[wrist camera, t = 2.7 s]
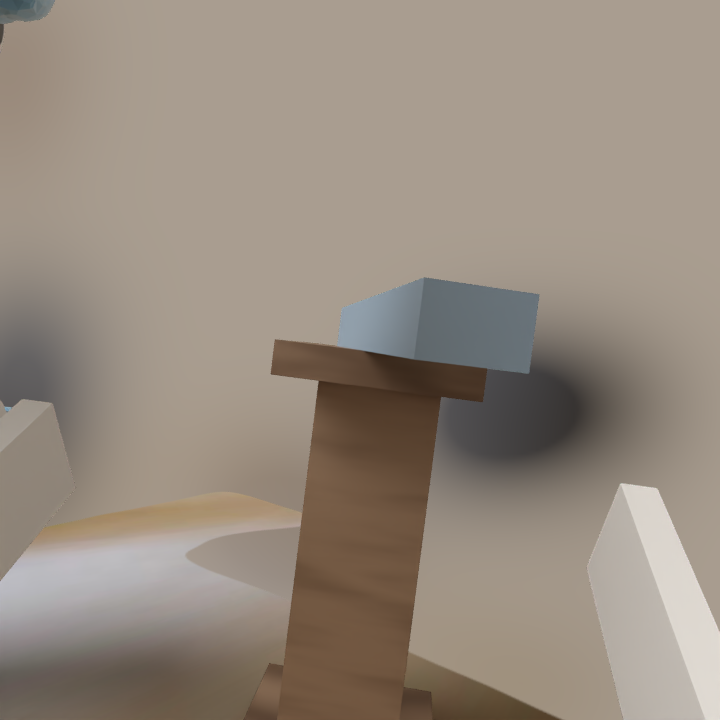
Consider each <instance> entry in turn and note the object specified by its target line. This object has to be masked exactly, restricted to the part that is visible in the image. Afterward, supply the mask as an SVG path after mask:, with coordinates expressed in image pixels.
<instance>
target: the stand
mask: <svg viewBox="0 0 720 720" xmlns="http://www.w3.org/2000/svg"><path fill="white" fill-rule="evenodd" d="M486 373H487V368H480V367H472V366H464V365H456V364H447V363H439V362H431V361H423V360H415V359H409V358H403V357H397V356H392V355H386V354H380V353H374V352H369V351H363V350H357V349H351V348H346V347H340V346H334V345H325V344H318V343H308V342H296V341H285V340H275V343H274V351H273V360H272V368H271V374H272V375H280V376H287V377H295V378H303V379H310V380H318V381H319V384H318V391H317V399H316V407H315V415H314V423H313V432H312V440H311V448H310V456H309V464H308V472H307V480H306V489H305V497H304V505H303V513H302V521H301V529H300V537H299V545H298V553H297V561H296V570H295V578H294V586H293V594H292V602H291V610H290V618H289V626H288V634H287V643H286V651H285V659H284V666H282V665H276V664H271V663H269V665H268V667H267V670H266V672H265V674H264V676H263V678H262V681H261V683H260V685H259V687H258V689H257V692H256V694H255V696H254V698H253V700H252V703H251V705H250V707H249V709H248V711H247V713H246V716H245V718H244V720H433V718H432V701H431V692H428V691H422V690H417V689H411V688H405V687H404V680H405V672H406V664H407V656H408V648H409V641H410V633H411V625H412V618H413V610H414V601H415V594H416V586H417V578H418V571H419V563H420V555H421V548H422V540H423V532H424V524H425V516H426V509H427V501H428V493H429V486H430V478H431V470H432V462H433V454H434V447H435V439H436V431H437V423H438V416H439V408H440V400H441V397H447V398H455V399H462V400H470V401H478V402H483V396H484V389H485V381H486Z"/></svg>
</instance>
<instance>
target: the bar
mask: <svg viewBox="0 0 720 720" xmlns="http://www.w3.org/2000/svg"><path fill="white" fill-rule="evenodd" d="M538 301H539V294H533V293H526V292H519V291H512V290H506V289H498V288H492V287H485V286H479V285H472V284H465V283H458V282H451V281H445V280H438V279H431V278H422V279H419V280H416V281H414V282H411V283H408V284H406V285H403V286H400V287H397V288H395V289H392V290H389V291H387V292H384V293H381V294H378V295H376V296H373V297H370V298H368V299H365V300H362V301H360V302H357V303H354V304H352V305H349V306H346V307H343V308H342V312H341V320H340V328H339V336H338V344H337V346H340V347H346V348H351V349H357V350H363V351H369V352H374V353H380V354H386V355H392V356H397V357H403V358H409V359H415V360H423V361H431V362H439V363H447V364H456V365H464V366H472V367H480V368H488V369H497V370H505V371H513V372H521V373H529V369H530V362H531V354H532V346H533V339H534V332H535V324H536V316H537V309H538Z"/></svg>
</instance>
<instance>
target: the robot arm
mask: <svg viewBox="0 0 720 720" xmlns="http://www.w3.org/2000/svg"><path fill="white" fill-rule="evenodd" d="M54 2H55V0H0V52H1V50H2V46H3V40H4V24H6V23H11V22H14V21H16V20H17V21H24V22H26V21H34V20H40V19H42V18H43V17H45V16H46V15H47V14H48V13H49V11H50V10H51V8H52V6H53V4H54ZM75 489H76V487H75V483H74V480H73V476H72V472H71V469H70V465H69V462H68V458H67V454H66V450H65V447H64V443H63V440H62V436H61V432H60V429H59V425H58V421H57V418H56V414H55V410H54V407H53V404H52V403H47V402H39V401H33V400H25V399H22V400H21V401H20V402H19V403H18V404H16V405H15V406H14V407H13V408H11V407H4V405H3V403H2V402H1V401H0V581H1V579H2V578H3V577H4V576H5V574H6V573H7V572H8V571H9V570H10V568H11V567H12V566H13V565H14V563H15V562H16V561H17V560H18V559H19V557H20V556H21V555H22V554H23V552H24V551H25V550H26V549H27V548H28V546H29V545H30V544H31V543H32V541H33V540H34V539H35V538H36V537H37V535H38V534H39V533H40V532H41V530H42V529H43V528H44V527H45V526H46V524H47V523H48V522H49V521H50V519H51V518H52V517H53V516H54V515H55V513H56V512H57V511H58V510H59V508H60V507H61V506H62V505H63V503H64V502H65V501H66V500H67V499H68V497H69V496H70V494H72V493H73V491H74V490H75ZM587 571H588V576H589V580H590V584H591V588H592V592H593V596H594V601H595V605H596V609H597V613H598V617H599V621H600V626H601V630H602V634H603V638H604V642H605V646H606V651H607V655H608V659H609V663H610V667H611V671H612V676H613V680H614V684H615V688H616V692H617V696H618V700H619V705H620V709H621V713H622V717H623V720H720V632H719V630H718V627H717V625H716V623H715V620H714V618H713V616H712V614H711V612H710V609H709V607H708V604H707V602H706V600H705V598H704V595H703V593H702V591H701V588H700V586H699V584H698V582H697V579H696V577H695V574H694V572H693V570H692V567H691V566H690V563H689V561H688V558H687V556H686V554H685V551H684V549H683V547H682V545H681V542H680V540H679V538H678V536H677V533H676V531H675V528H674V526H673V524H672V521H671V519H670V517H669V515H668V512H667V510H666V508H665V505H664V503H663V501H662V498H661V496H660V494H659V491H658V489H657V488H650V487H644V486H637V485H630V484H622V483H620V486H619V488H618V491H617V493H616V496H615V498H614V500H613V503H612V505H611V508H610V510H609V513H608V516H607V518H606V520H605V523H604V525H603V528H602V530H601V533H600V535H599V538H598V540H597V543H596V545H595V548H594V550H593V553H592V555H591V558H590V560H589V562H588V565H587Z"/></svg>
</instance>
